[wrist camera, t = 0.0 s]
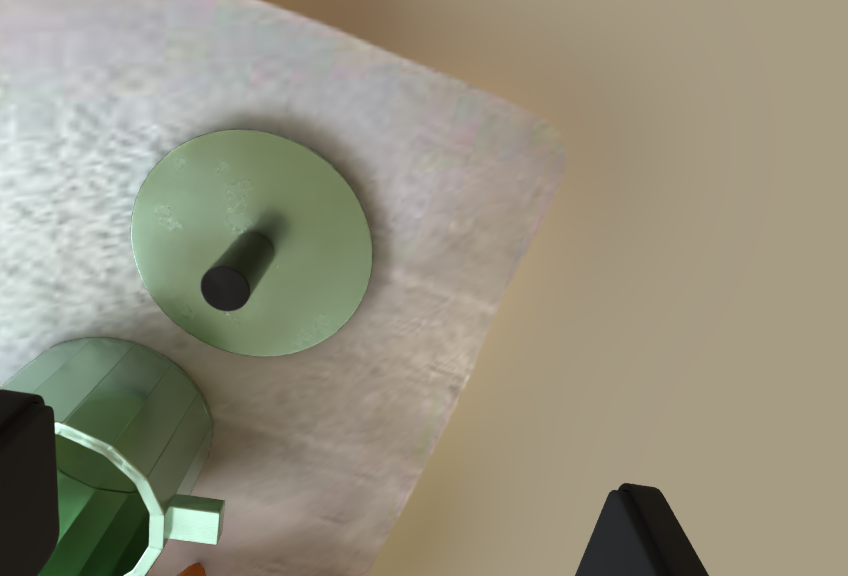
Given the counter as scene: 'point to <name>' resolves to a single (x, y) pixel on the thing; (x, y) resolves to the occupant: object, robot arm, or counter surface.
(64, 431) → the pot
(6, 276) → the counter surface
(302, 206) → the lid
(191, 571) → the carrot
